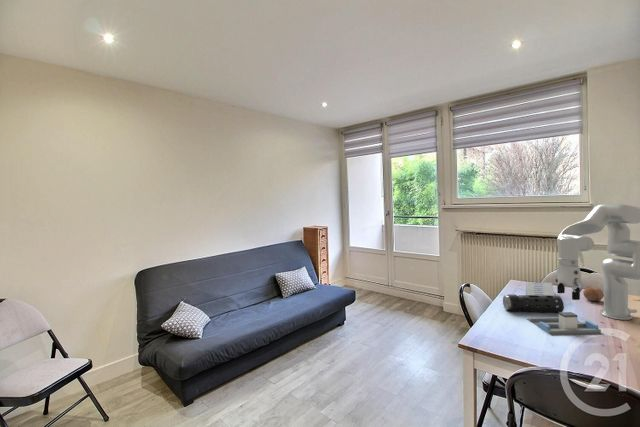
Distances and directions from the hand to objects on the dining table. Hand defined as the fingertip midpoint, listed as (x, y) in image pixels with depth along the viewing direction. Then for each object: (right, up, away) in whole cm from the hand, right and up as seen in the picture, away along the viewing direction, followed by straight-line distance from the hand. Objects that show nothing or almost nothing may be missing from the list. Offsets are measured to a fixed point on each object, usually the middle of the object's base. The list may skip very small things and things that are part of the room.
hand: (568, 296), depth 150 cm
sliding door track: (+1, -18, +5) cm, 18 cm away
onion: (+48, -14, +39) cm, 63 cm away
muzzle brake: (0, -17, +26) cm, 31 cm away
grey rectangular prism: (+1, -17, +1) cm, 17 cm away
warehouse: (+21, -15, +48) cm, 55 cm away
